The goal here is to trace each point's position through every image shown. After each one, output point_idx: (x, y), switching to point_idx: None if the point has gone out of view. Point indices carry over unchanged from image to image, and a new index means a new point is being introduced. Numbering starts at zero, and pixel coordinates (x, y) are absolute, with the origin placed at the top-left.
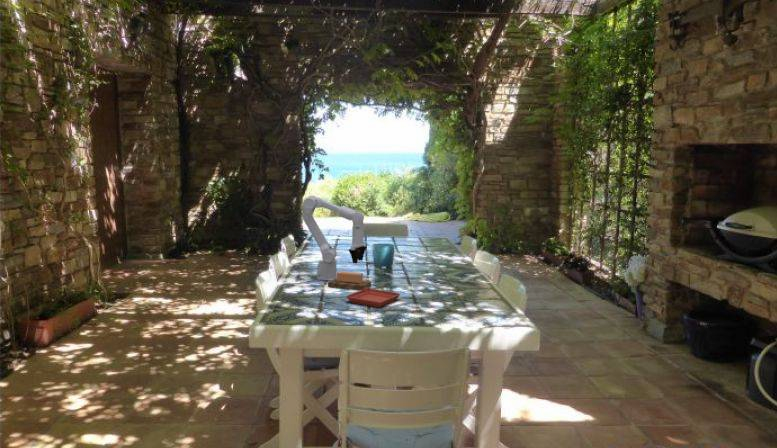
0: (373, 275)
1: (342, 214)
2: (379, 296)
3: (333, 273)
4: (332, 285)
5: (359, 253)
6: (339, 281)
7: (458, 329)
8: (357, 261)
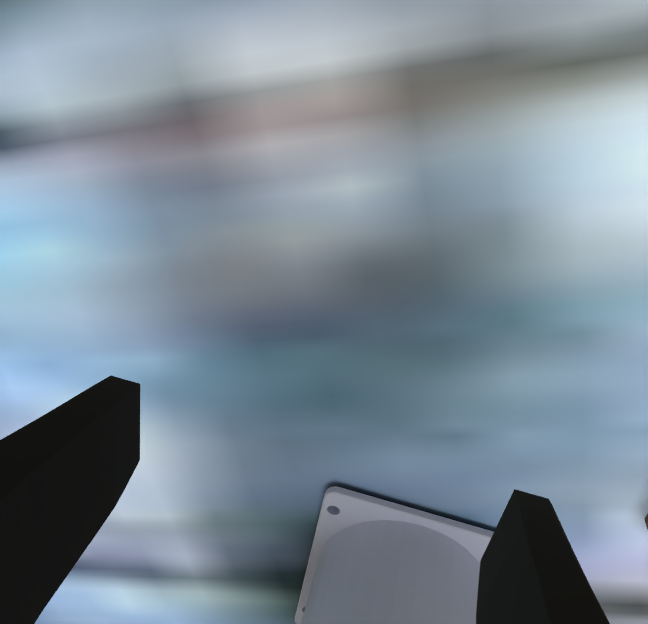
0: (29, 32)
1: None
2: None
3: (464, 615)
4: None
5: (18, 596)
6: None
7: None
8: (527, 519)
